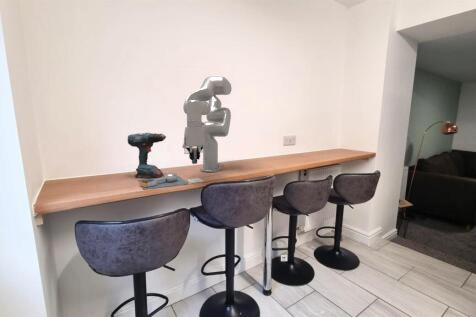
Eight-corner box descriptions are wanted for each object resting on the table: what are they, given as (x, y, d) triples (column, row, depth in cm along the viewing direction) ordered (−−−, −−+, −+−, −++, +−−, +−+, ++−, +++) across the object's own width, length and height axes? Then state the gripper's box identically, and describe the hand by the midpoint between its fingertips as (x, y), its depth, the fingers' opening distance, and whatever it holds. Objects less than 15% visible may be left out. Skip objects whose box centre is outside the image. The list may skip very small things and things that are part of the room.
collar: (172, 178, 132) (172, 172, 131) (179, 180, 127) (179, 174, 127) (139, 184, 119) (138, 177, 118) (145, 187, 114) (145, 180, 113)
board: (178, 176, 139) (178, 175, 139) (188, 184, 123) (188, 183, 123) (137, 180, 128) (137, 180, 128) (143, 189, 112) (143, 189, 112)
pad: (199, 178, 134) (199, 178, 133) (203, 181, 128) (203, 181, 128) (186, 180, 130) (186, 179, 130) (191, 183, 124) (191, 182, 124)
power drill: (165, 178, 131) (162, 133, 127) (127, 177, 135) (123, 133, 131) (172, 175, 139) (170, 132, 135) (137, 173, 144) (133, 132, 140)
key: (195, 162, 129) (195, 147, 128) (198, 163, 127) (198, 148, 126) (190, 163, 127) (190, 148, 126) (193, 164, 125) (193, 149, 124)
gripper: (206, 124, 131) (206, 157, 134) (176, 124, 123) (177, 159, 126) (211, 124, 125) (211, 159, 127) (181, 124, 117) (181, 161, 119)
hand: (194, 159), depth 127 cm, fingers closed on key, 2 cm apart
